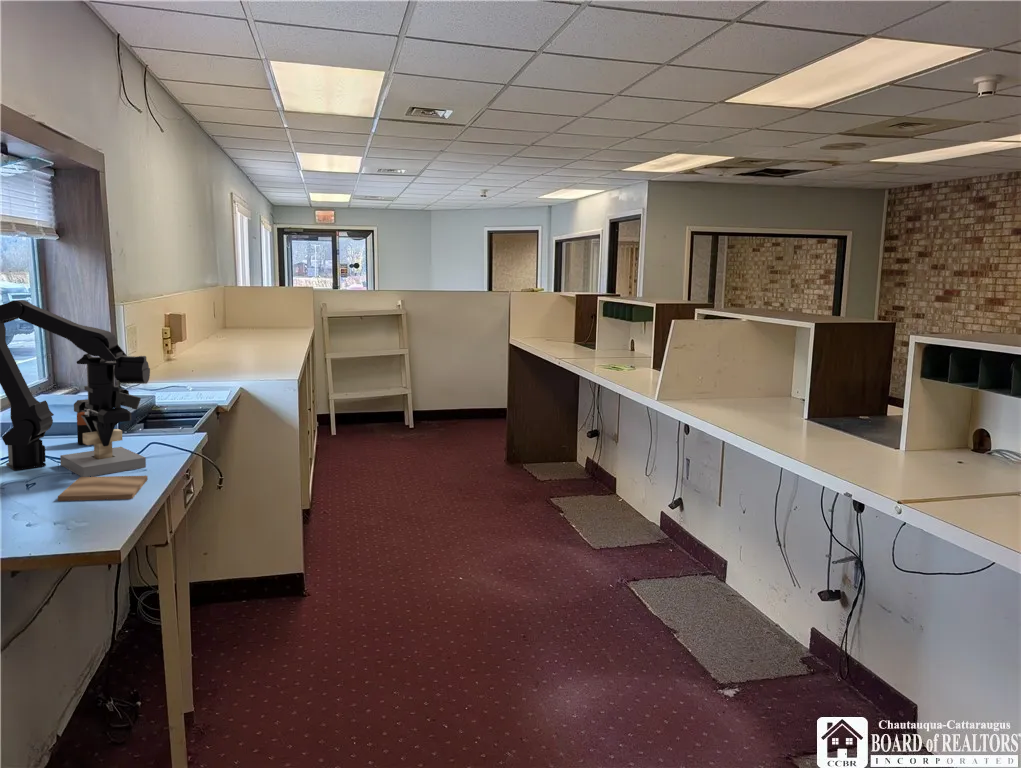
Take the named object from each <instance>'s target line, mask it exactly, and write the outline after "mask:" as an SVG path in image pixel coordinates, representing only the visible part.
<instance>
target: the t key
mask: <svg viewBox="0 0 1021 768" xmlns="http://www.w3.org/2000/svg"><path fill="white" fill-rule="evenodd" d="M119 441H123V430H121V429H119V428H114V430H113V433H112V436H111V439H110V442H109V445H108V446H103V444H102V442H101V440H100V438H99V435H98V433H97V431H96V432H88V433H83V443H84V444H86V445H85V446H91V445H92V446H93V451H94V458H95V459H97V460H98V459H105V458H111V457H113V455H112V448H113V442H114V443H115V442H119Z"/></svg>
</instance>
